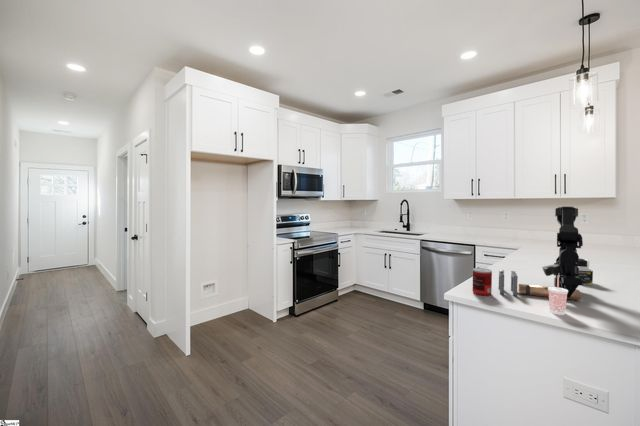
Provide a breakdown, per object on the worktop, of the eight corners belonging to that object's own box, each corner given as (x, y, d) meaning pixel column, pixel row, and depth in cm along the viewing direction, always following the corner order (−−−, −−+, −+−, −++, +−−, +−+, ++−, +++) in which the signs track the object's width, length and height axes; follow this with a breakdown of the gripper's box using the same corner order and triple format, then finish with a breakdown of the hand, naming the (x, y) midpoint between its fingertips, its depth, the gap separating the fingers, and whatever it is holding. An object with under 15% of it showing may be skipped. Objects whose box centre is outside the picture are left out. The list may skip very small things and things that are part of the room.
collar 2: (514, 290, 140) (515, 271, 140) (517, 296, 131) (517, 276, 131) (510, 289, 141) (511, 271, 141) (513, 295, 132) (513, 276, 132)
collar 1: (502, 288, 142) (503, 268, 142) (504, 294, 134) (505, 272, 133) (497, 288, 143) (498, 267, 143) (499, 294, 135) (499, 272, 134)
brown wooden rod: (577, 298, 127) (577, 288, 127) (580, 302, 123) (580, 291, 123) (518, 292, 137) (518, 282, 137) (519, 295, 133) (519, 285, 133)
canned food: (489, 291, 139) (489, 268, 138) (493, 297, 131) (493, 272, 131) (471, 290, 141) (471, 267, 141) (473, 295, 134) (474, 271, 133)
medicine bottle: (574, 283, 150) (575, 260, 150) (569, 279, 157) (569, 257, 156) (592, 284, 148) (593, 261, 147) (586, 281, 154) (587, 258, 154)
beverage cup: (543, 309, 116) (544, 274, 115) (559, 309, 116) (560, 274, 115) (554, 315, 110) (556, 278, 109) (571, 315, 110) (573, 278, 109)
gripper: (540, 254, 139) (539, 287, 139) (548, 262, 122) (547, 299, 123) (570, 256, 133) (569, 290, 134) (584, 264, 117) (582, 303, 118)
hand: (566, 295), depth 127 cm, fingers closed on brown wooden rod, 4 cm apart
